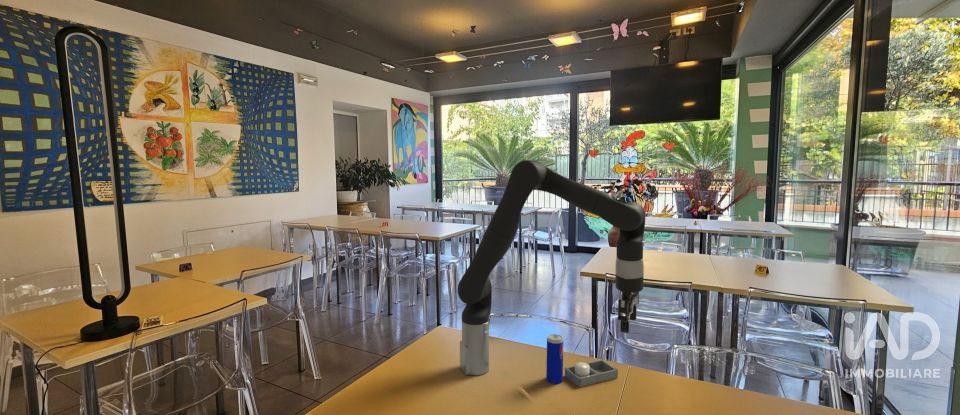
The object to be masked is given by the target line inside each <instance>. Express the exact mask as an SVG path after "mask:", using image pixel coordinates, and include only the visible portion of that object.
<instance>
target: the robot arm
mask: <svg viewBox="0 0 960 415" xmlns="http://www.w3.org/2000/svg"><path fill="white" fill-rule="evenodd" d="M533 191H539V192H545V193H548V194H552V195H554V196H556V197H559V198H561V199H562V200H564V201H566V203H569V204H571V205H572V206H573V207H576V208H578V209H580V210H582V211H584V212H586V213H589V214H591V215H594V216H596V217H599V218H601V219H602V220H603V221H605V222H606V223H608V224H610V225H612V226H613V227H615V228H617V229H619V235H618V238H617V240H616V260H615V269H614V270H615V275H614V276H615V279H614V280H615V284H614V286H615V288H616V290H618V291H620V292H621V295H620V298H619V299H618V301H617V302H618V304H617V321H620V332H621V333H624V334H628V333H629V332H630V321H636V320H637V308H638V305H639V303H640V292H642V291H643V289H644V277H645V276H644V275H645V274H644V272H645V267H644V266H645V265H644V235H645V234H644V233H645V229H646V228H645V226H646V210H645V208H644V206H642V204H640V203H639V202H637V201H627V202H625V203H623V202H621V201H618V200H616V199H614V198H613V197H612V195H611V194H609V193H607V192H605V191H602V190H599V189H598V188H594V187H592V186H589V185H587V184H583V183H581V182H578V181H576V180H573V179H571V178H568V177H566V176H563V175H562V174H559V173H557V172H556V171H554V170H552V169H551V168H549V167H548V166H546V165H545V164H542V163H541V162H540V161H537V160H531V159H524V160H521V161H519V162H517V163H516V164H515V165H514V167H513V168H512V170H511V172H510V175H509V178H508V181H507V184H506V186H505V190H504V192H503V195H502V197H501V200H500V201H499V202H498V205H497V207H496V209H495V211H494V214H493V215H492V217H491V219H490V221H489V223H488V225H487V227H486V229H485V231H484V234H483V236H482V239H481V240H480V242H479V245H478V247H477V249H476V251H475V253H474V255H473V258H472V260H471V262H470V264H469V266H468V267H467V269H466V271H465V272H464V274H463V276H462V277H461V278H460V280H459V281H458V282H459V283H458V285H457V295H458V298H459V300H460V301H461V302H462V303H463V304H465V307H464V309H463V310H462V313H461V340H460V341H459V368H460V369H461V371H462V372H463V373H464V375H465V376H481V375H484V374H486V373H488V372H489V370H490V314H491V310H492V300H493V299H492V297H493V296H492V295H493V294H492V293H493V292H492V291H493V287H492V282H491V278H490V275H491V273H492V271H493V270H494V269H495V267H496V266H497V265H498V263H499V262H500V261H501V260H502V259H503V258H504V256H505V255H506V254H507V252H508V251H509V249H510V247H511V245H512V244H513V241H514V239H515V238H516V235H517V234H518V233H517V232H518V230H519V226H520V221H521V215H522V211H523V208H524V206H525V204H526V202H527V201H528V198H530V197H529V196H530V195H531V194H532V192H533Z"/></svg>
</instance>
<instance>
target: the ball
mask: <svg viewBox="0 0 960 415" xmlns="http://www.w3.org/2000/svg"><path fill="white" fill-rule="evenodd" d="M587 363H588V362H583V361H582V362H581V361H579V362H576V363H574V366H575V374H576V375H577V376H578V377H579V378H581V377H585V376H589V371H590V366H589V365H588V364H587Z"/></svg>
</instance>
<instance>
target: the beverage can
mask: <svg viewBox="0 0 960 415" xmlns="http://www.w3.org/2000/svg"><path fill="white" fill-rule="evenodd" d="M545 372H546V375H545V376H546V378H545V379H546V382H548V383H549V384H552V385H559V384H563V379H564V376H563V375H564V338H563V336H562V335H560V334H556V333H555V334H554V333H553V334H549V335H547V337H546V370H545Z"/></svg>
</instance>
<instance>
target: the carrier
mask: <svg viewBox="0 0 960 415" xmlns="http://www.w3.org/2000/svg"><path fill="white" fill-rule="evenodd" d="M586 363H587V364H588V365H589V366H590V371H589V376H585V377H581V378H579V377H578V376H577V375H576V374H575V365H572V366H567V367H564V377H566V378H567V379H568V380H569V381H570V382H572V383H573V384H574V385H575V386H576V387H578V388H583V387H587V386H591V385H595V384H599V383H603V382H607V381H610V380H614V379H618V375H619V369H617V368H616V367H614V366H613V365H611V364H610V363H609V362H606V361H605V360H603V359H599V360H594V361H589V362H586Z"/></svg>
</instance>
